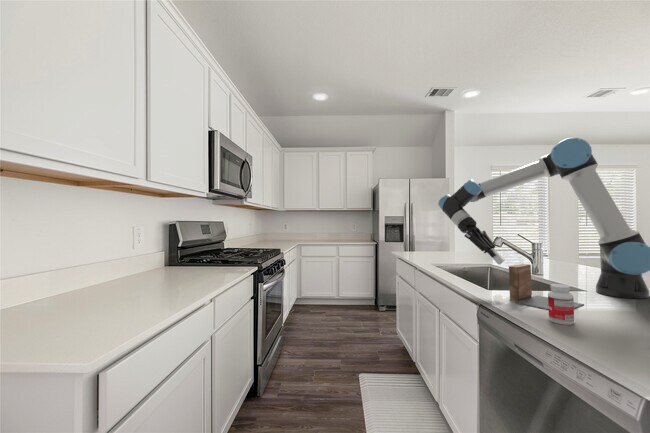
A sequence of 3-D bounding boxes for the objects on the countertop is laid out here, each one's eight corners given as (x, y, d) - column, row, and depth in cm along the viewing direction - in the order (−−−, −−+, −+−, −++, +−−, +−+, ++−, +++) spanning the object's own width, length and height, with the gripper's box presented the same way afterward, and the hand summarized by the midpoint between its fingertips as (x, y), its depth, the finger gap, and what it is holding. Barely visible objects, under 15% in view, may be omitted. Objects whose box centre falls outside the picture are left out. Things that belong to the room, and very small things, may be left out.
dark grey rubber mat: (584, 305, 106) (584, 304, 106) (563, 313, 98) (563, 312, 98) (537, 296, 119) (537, 295, 119) (515, 303, 111) (515, 301, 111)
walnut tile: (532, 297, 118) (531, 264, 118) (519, 301, 113) (517, 267, 113) (523, 295, 121) (522, 263, 121) (510, 299, 116) (508, 266, 116)
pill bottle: (550, 317, 95) (549, 282, 95) (575, 321, 91) (574, 285, 91) (547, 322, 91) (545, 285, 91) (573, 326, 87) (571, 288, 87)
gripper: (467, 227, 143) (504, 266, 129) (450, 227, 137) (486, 269, 122) (478, 215, 139) (516, 255, 124) (460, 216, 132) (498, 258, 118)
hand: (501, 262), depth 123 cm, fingers closed
